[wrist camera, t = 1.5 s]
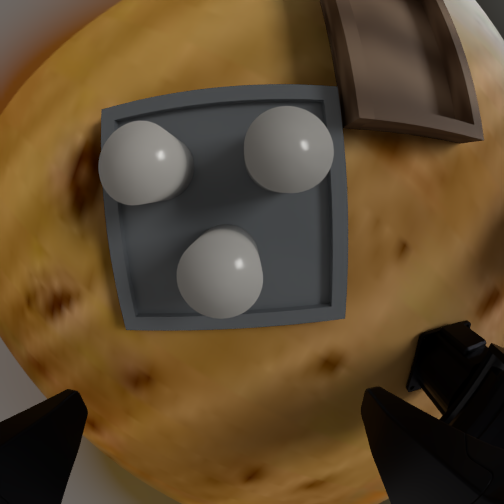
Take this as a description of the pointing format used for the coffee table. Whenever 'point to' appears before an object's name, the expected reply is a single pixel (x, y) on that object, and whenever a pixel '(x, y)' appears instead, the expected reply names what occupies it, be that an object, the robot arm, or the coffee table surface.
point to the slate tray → (232, 213)
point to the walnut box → (402, 69)
